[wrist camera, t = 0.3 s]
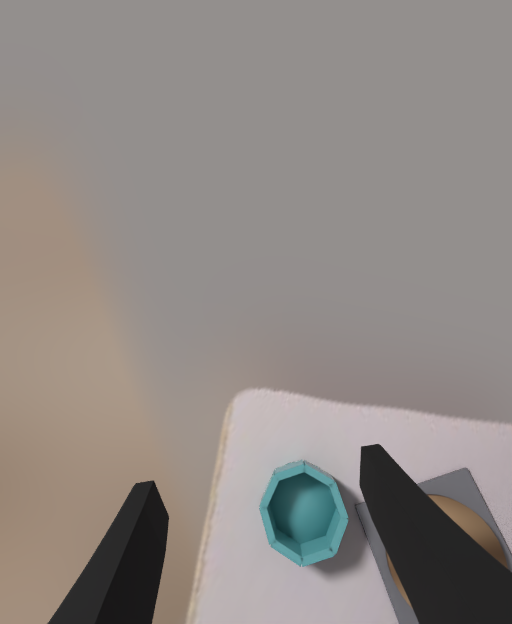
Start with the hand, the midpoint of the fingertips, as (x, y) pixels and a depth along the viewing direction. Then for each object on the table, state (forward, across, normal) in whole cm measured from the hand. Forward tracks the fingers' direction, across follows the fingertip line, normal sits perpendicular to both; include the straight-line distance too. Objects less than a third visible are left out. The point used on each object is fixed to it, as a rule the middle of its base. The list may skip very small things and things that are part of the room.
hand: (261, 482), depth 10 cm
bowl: (+15, -3, +27) cm, 31 cm away
